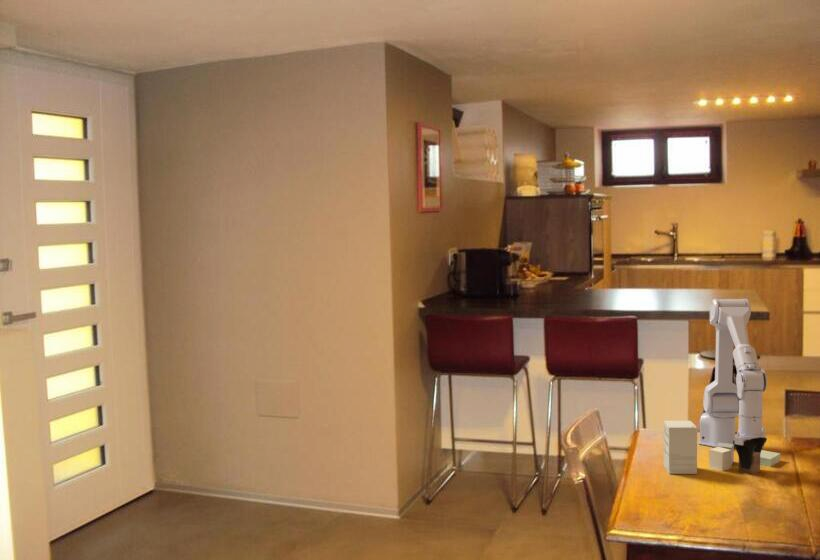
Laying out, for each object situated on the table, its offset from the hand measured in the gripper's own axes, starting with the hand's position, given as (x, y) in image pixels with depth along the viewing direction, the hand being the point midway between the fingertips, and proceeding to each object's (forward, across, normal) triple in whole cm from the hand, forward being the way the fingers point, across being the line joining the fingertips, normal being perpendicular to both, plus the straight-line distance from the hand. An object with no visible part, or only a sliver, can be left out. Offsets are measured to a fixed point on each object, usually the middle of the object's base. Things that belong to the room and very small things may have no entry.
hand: (749, 466), depth 227 cm
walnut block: (+2, 0, 0) cm, 2 cm away
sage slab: (+2, +11, +1) cm, 11 cm away
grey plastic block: (+2, +3, +8) cm, 9 cm away
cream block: (+2, -2, +7) cm, 7 cm away
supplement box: (+2, -11, +14) cm, 18 cm away
